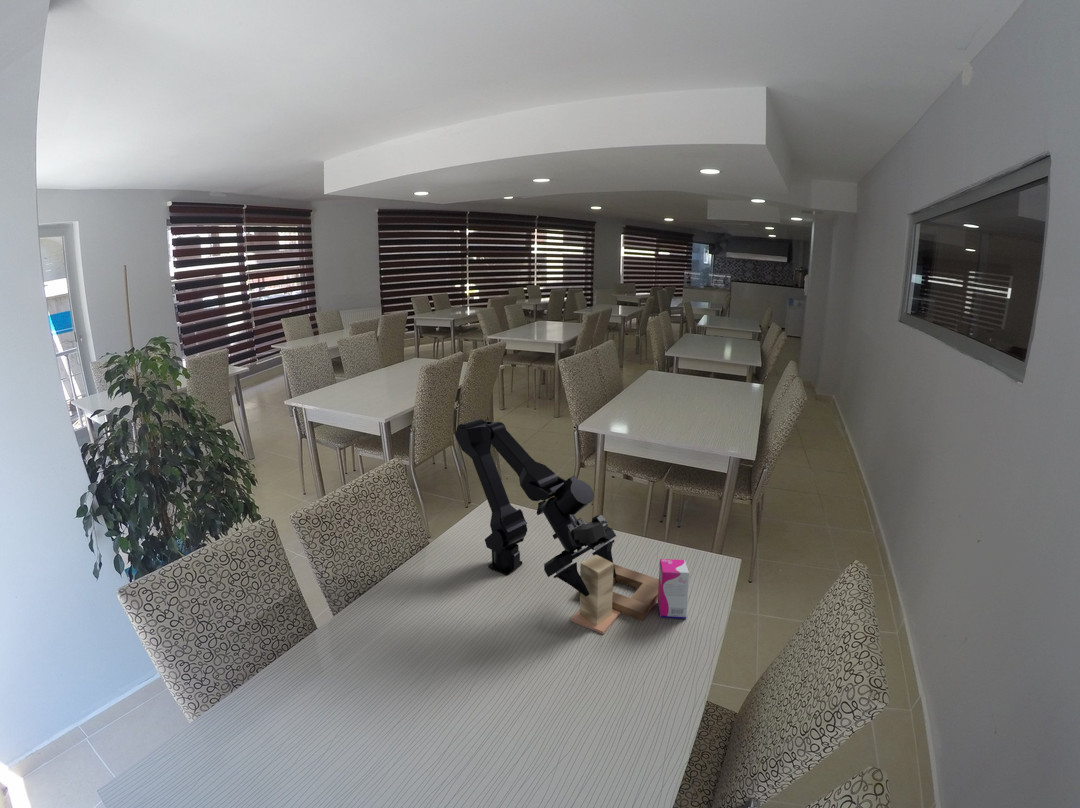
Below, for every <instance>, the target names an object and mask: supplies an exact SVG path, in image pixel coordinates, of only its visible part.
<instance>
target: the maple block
mask: <svg viewBox="0 0 1080 808" xmlns="http://www.w3.org/2000/svg"><path fill="white" fill-rule="evenodd" d="M614 564H615V563H614V562H613V563H612V562H610V561H608V560H606V559H604V558H602V557H600V556H598V555H592V556H590V557H589V558H587V559H585V560H584V561H582V562H580V569H579V570H580V571H579V572H580V573H579V575H580V577H581V578H582V580H583V582H584V584H585V585H586V587H587V589H588V592H589V595H588V596H584V595H583V594H582V593H580V597H579V609H580V616H582V617H584V618H585V619H587V620H589V621H590V622H592V623H593V624H595V625H599V624H600V623H601V622H603V621H604V620H606V619H607V618H609V617H610V616H611V615H612V597H613V592H614V588H613V587H614V584H613V569H614Z"/></svg>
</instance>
